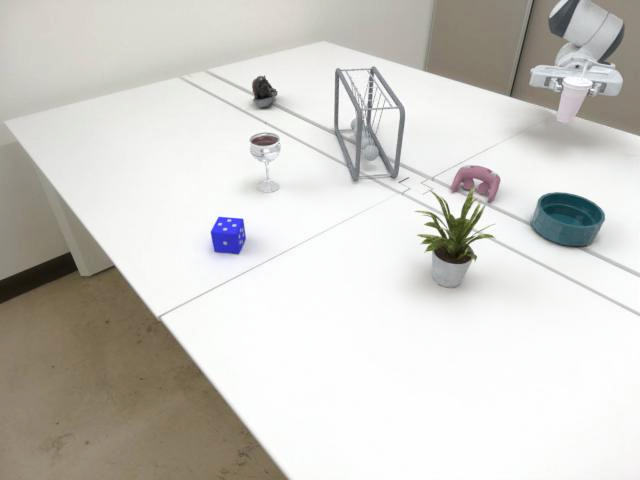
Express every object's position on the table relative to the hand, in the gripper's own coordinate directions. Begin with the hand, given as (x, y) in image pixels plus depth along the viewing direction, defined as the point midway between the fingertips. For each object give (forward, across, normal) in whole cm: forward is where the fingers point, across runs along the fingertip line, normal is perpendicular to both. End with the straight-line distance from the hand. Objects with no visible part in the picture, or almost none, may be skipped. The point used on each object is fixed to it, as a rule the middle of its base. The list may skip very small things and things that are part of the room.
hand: (575, 91), depth 107 cm
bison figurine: (-2, -84, +16) cm, 86 cm away
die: (+63, -59, +16) cm, 88 cm away
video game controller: (+26, -17, +16) cm, 35 cm away
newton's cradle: (+17, -46, +16) cm, 52 cm away
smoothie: (-1, 0, +8) cm, 8 cm away
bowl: (+34, +2, +16) cm, 37 cm away
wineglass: (+41, -61, +16) cm, 76 cm away
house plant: (+56, -18, +16) cm, 61 cm away
